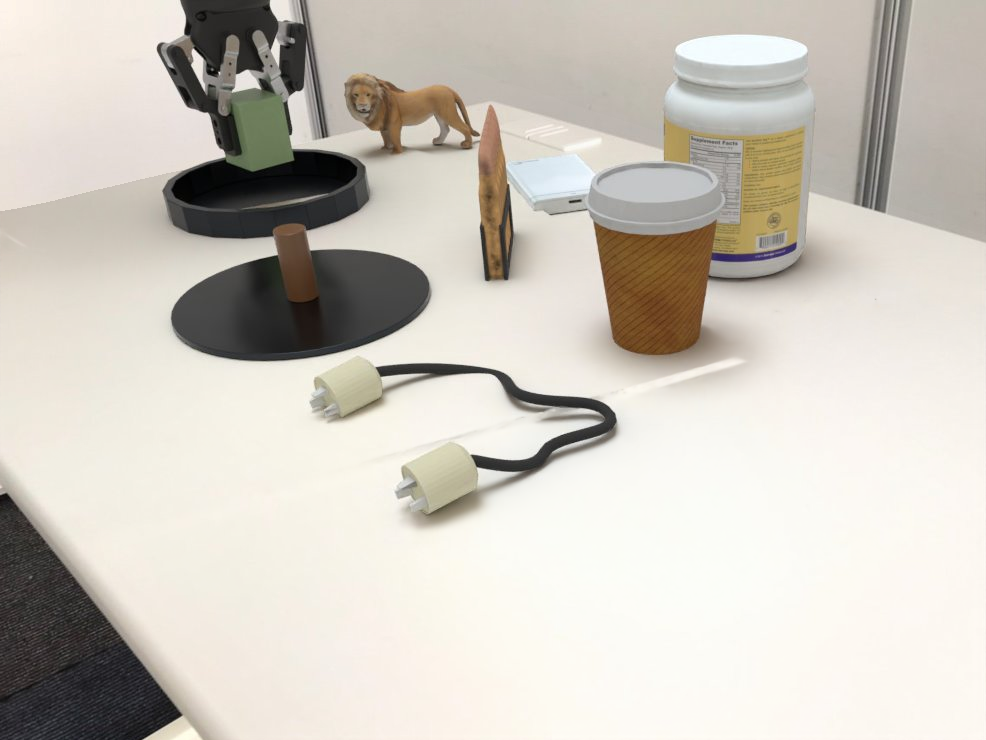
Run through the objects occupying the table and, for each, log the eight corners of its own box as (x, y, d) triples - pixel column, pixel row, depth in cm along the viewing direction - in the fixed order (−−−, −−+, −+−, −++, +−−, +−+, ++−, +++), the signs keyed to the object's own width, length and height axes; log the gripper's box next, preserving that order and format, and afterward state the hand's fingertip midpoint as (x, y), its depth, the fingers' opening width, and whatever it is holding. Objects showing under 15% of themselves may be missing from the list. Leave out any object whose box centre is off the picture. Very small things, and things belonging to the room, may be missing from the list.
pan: (189, 259, 91) (180, 226, 90) (158, 197, 105) (150, 167, 103) (394, 219, 99) (390, 188, 97) (341, 167, 112) (335, 138, 110)
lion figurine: (364, 168, 112) (349, 81, 106) (348, 156, 115) (333, 71, 110) (489, 145, 118) (481, 61, 113) (470, 134, 121) (461, 52, 116)
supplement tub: (688, 222, 97) (690, 28, 87) (818, 237, 93) (835, 36, 84) (643, 272, 87) (639, 60, 78) (785, 291, 84) (800, 71, 74)
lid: (198, 393, 71) (172, 304, 68) (157, 291, 86) (133, 213, 82) (467, 328, 79) (457, 245, 75) (388, 245, 93) (376, 171, 90)
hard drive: (502, 162, 107) (533, 199, 98) (578, 152, 110) (615, 188, 100) (503, 178, 108) (534, 216, 99) (578, 168, 111) (616, 205, 101)
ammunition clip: (493, 239, 94) (480, 102, 87) (514, 238, 94) (502, 101, 87) (485, 287, 85) (469, 139, 79) (508, 286, 85) (494, 138, 79)
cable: (504, 346, 77) (500, 302, 75) (639, 439, 66) (638, 391, 64) (301, 413, 69) (291, 366, 67) (416, 531, 58) (408, 480, 56)
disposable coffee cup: (744, 332, 78) (751, 172, 71) (676, 385, 71) (677, 215, 65) (637, 303, 82) (635, 151, 75) (565, 351, 76) (555, 188, 69)
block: (252, 171, 96) (238, 105, 93) (226, 162, 99) (211, 96, 96) (294, 160, 99) (282, 95, 96) (268, 151, 102) (255, 87, 98)
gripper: (264, -66, 95) (299, 124, 105) (112, -49, 86) (166, 158, 96) (312, -59, 91) (344, 138, 101) (157, -40, 82) (209, 174, 92)
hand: (257, 147), depth 98 cm, fingers closed on block, 4 cm apart
